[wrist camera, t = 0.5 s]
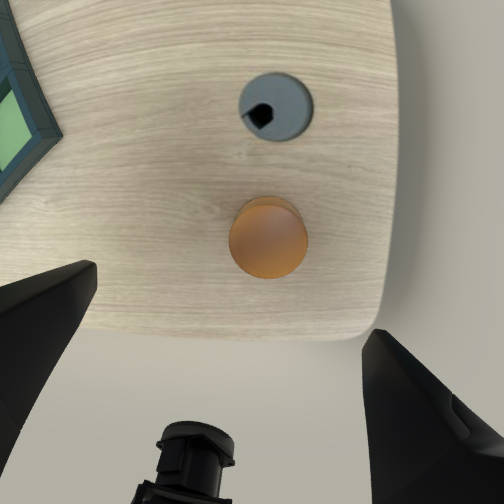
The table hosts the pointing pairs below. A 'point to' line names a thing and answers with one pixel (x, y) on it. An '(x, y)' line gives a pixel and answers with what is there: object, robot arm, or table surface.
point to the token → (268, 238)
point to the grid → (20, 109)
